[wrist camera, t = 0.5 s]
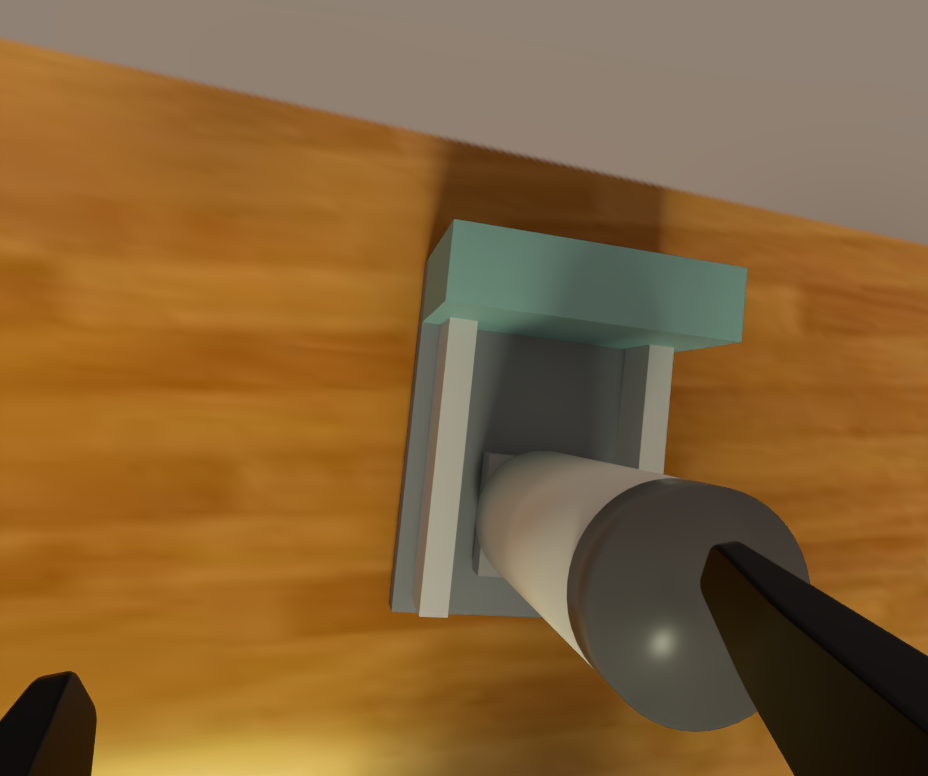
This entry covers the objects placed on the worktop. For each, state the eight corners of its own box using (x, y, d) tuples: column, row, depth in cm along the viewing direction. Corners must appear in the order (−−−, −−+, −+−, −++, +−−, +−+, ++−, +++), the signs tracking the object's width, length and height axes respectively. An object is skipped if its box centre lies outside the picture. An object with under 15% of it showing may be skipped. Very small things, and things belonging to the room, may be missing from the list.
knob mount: (628, 613, 26) (714, 673, 20) (389, 603, 24) (407, 666, 18) (656, 297, 27) (747, 268, 21) (425, 262, 25) (454, 218, 19)
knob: (588, 582, 24) (802, 731, 13) (463, 576, 23) (580, 731, 12) (600, 454, 25) (819, 495, 14) (476, 442, 24) (604, 476, 13)
